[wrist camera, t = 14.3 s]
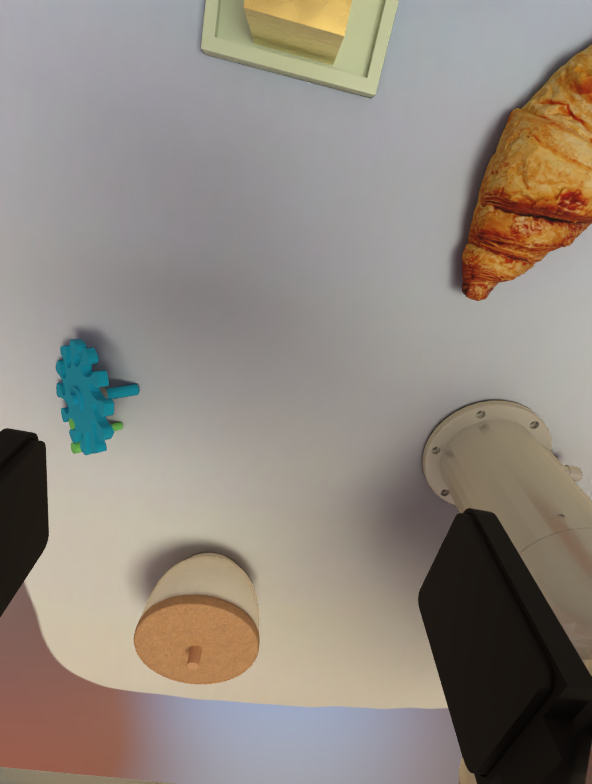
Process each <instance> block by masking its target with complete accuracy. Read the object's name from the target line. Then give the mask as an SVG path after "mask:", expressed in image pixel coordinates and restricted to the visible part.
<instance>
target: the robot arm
mask: <svg viewBox="0 0 592 784" xmlns="http://www.w3.org/2000/svg"><path fill="white" fill-rule="evenodd" d="M551 452H552V441H551V436H550V433H549V430H548V428H547V427H546V425H545V424H544V422H543V421H542V420H541V419H540V418H539V417H538V416H537V415H536V414H535V413H534V412H532V411H531V410H530V409H528V408H527V407H524V406H522V405H520V404H517V403H513V402H508V401H485V402H479V403H476V404H473V405H469V406H467V407H465V408H462V409H460V410H458V411H456V412H455V413H453V414H452V415H450V416H449V417H448V418H446V419H445V420H444V421H443V422H442V423H441V424H440V425H439V426H438V427H437V428H436V429H435V430H434V432H433V433H432V434H431V436H430V437H429V439H428V441H427V444H426V446H425V449H424V453H423V470H424V475H425V477H426V479H427V482H428V484H429V486H430V487H431V489H432V490H433V491H434V493H435V494H436V495H437V496H439V497H440V498H441V499H443V500H444V501H446V502H448V503H450V504H453V505H455V506H457V508H458V510H459V512H460V513H459V514H457V515H456V517H455V519H454V521H453V523H452V525H451V527H450V529H449V531H448V533H447V535H446V537H445V539H444V541H443V543H442V546H441V548H440V550H439V552H438V554H437V556H436V558H435V560H434V562H433V564H432V566H431V568H430V570H429V572H428V574H427V576H426V578H425V581H424V583H423V585H422V587H421V589H420V591H419V596H418V603H419V608H420V612H421V615H422V619H423V622H424V626H425V629H426V633H427V636H428V639H429V643H430V646H431V650H432V653H433V657H434V660H435V663H436V667H437V670H438V674H439V677H440V681H441V684H442V688H443V691H444V694H445V698H446V701H447V705H448V708H449V711H450V715H451V718H452V722H453V725H454V728H455V732H456V736H457V739H458V743H459V746H460V749H461V753H462V756H463V757H462V760H461V764H460V769H459V784H592V501H591V499H590V498H589V497H588V496H587V495H586V494H585V493H584V492H583V491H582V490H581V488H580V487H579V486H578V485H577V484H576V483H575V482H574V481H579V480H580V479H581V478H582V470H581V469H580V468H578V467H573V466H568V465H565V466H564V465H562V463H561V462H560V461H559V460H558V459H557V458H556V457H555V456H554V455H553V454H552V453H551ZM48 536H49V527H48V498H47V468H46V446H45V443H44V442H43V441H39V440H38V436H37V434H35V433H32V432H26V431H20V430H15V429H9V428H7V429H3V430H2V431H0V617H1V615H2V614H3V612H4V611H5V609H6V608H7V606H8V604H9V603H10V602H11V600H12V598H13V597H14V595H15V594H16V592H17V590H18V589H19V588H20V586H21V585H22V583H23V582H24V580H25V579H26V577H27V576H28V574H29V572H30V571H31V569H32V568H33V566H34V565H35V563H36V562H37V560H38V559H39V557H40V556H41V554H42V553H43V551H44V549H45V547H46V544H47V541H48ZM0 784H174V783H163V782H153V781H143V780H132V779H122V778H110V777H100V776H89V775H78V774H67V773H57V772H47V771H36V770H25V769H14V768H3V767H0Z"/></svg>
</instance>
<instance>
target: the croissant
mask: <svg viewBox="0 0 592 784" xmlns="http://www.w3.org/2000/svg"><path fill="white" fill-rule="evenodd" d="M591 223H592V44H591V45H590V46H589V47H588V48H586V49H585V50H583V51H581V52H579V53H577V54H576V55H575V56H573V57H572V58H571V59H570V60H569V61H568V62H567V63H566V64H565V65H563V66H561V67H560V68H559V69H558V70H557V71H556V72H555V73H554V74H553V75H552V76H551V78H550V79H549V80H548V81H547V82H546V83H545V85H544V86H543V87H542V88H541V89H540V90H539V91H538V92H537V93H535V95H534V96H533V97H532V98H531V99H530V100H529V102H528V103H527V104H526V105H524V106H523V107H522V108H521V109H520V108H515V109H514V110H513V111H512V112H511V113H510V116H509V118H508V121H507V124H506V127H505V129H504V130H503V132H502V135H501V137H500V141H499V143H498V146H497V149H496V153H495V154H494V155H493V156H492V158H491V159H490V161H489V164H488V166H487V168H486V172H485V175H484V178H483V181H482V184H481V187H480V191H479V198H478V202H477V206H476V208H475V210H474V214H473V219H472V223H471V226H470V231H469V237H468V244H467V245H466V246H465V249H464V251H463V254H462V275H463V284H462V292H463V293H464V294H465V295H466V297H468V298H470V299H473V300H476V301H479V300H483V299H486V298H487V296H488V295H489V293H490V292H491V291H492V290H493V288H494V287H495V286H496V285H497V284H498V283H499V282H504V281H509V280H513V279H515V278H516V277H517V276H520V275H521V274H524V273H525V272H526V271H527V270H529V269H530V268H532V267H533V266H534V264H535V262H538V261H541V260H542V259H543V258H544V257H545V256H546V255H547V253H548V252H550V251H553V250H556V249H558V248H560V247H566V246H567V245H568V246H569V245H571V244H572V243H573V241H574V240H575V238H576V237H578V236H579V235H580V234H581V233H582V232H583V231H584V230H585V229H587V227H588V226H589V225H590V224H591Z"/></svg>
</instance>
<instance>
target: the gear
mask: <svg viewBox="0 0 592 784" xmlns="http://www.w3.org/2000/svg"><path fill="white" fill-rule="evenodd" d="M60 350H61V355H62V357H63V360H58V361H57V364H56V371H57V373H58V374H59V375H60V377H61V379H62V381H63V383H57V395H58V397H61V398H63V399H64V400H65V402H66V403H67V405H68V407H67V408H62V409H61V414H62V418H63V421H64V422H68V421H69V425H70V428H71V429H70V431H69V433H70V437H71V439H72V441H73V442H72V443H71V449H72V452H73V453H74V454H75V453H79V452H83V453H84V454H85V455H88V454H92V453H99V452H103V451H106V450H107V447H106V443H105V441H104V440H107V439H111V438H112V436H113V434H114V431H116V430H120V429H122V423H121V422H117V423H113V424H109V422H108V421H107V419H106V417H105V416H110V415H113V414H114V402H113V400H112V399H116V398H122V397H128V396H133V395H138V394H139V387H138V385H137V384H133V385H126V386H120V387H113V388H107V389H106V388H105V387H106V386H109V380H108V375H107V371H106V370H102V371H94V372H92V364H97V363H98V361H99V358H98V355H97V352H96V350H95V349H94V348H86V344H85V342H84V341H83V340H81V339H77V340H70V345H66V346H62V347H61V348H60Z"/></svg>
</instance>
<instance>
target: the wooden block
mask: <svg viewBox="0 0 592 784" xmlns="http://www.w3.org/2000/svg"><path fill="white" fill-rule="evenodd" d="M351 4H352V0H244V11H245V14H246V17H247V21H248V24H249V27H250V31H251V34H252V38H253V41H254V44H257V45H261V46H264V47H268V48H272V49H275V50H279V51H282V52H286V53H289V54H293V55H297V56H300V57H304V58H307V59H311V60H315V61H318V62H322V63H325V64H329V65H333V64H334V62H335V59H336V57H337V54H338V52H339V49H340V46H341V44H342V41H343V39H344V36H345V31H346V27H347V22H348V18H349V13H350V8H351Z"/></svg>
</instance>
